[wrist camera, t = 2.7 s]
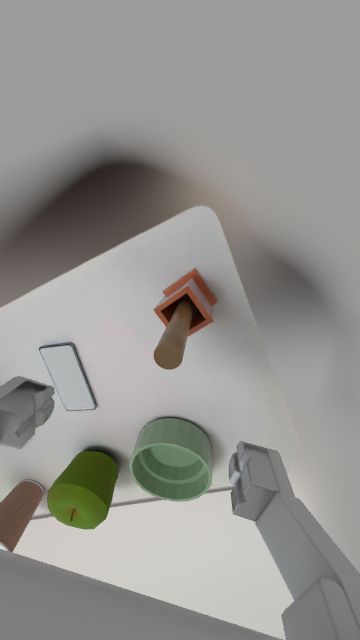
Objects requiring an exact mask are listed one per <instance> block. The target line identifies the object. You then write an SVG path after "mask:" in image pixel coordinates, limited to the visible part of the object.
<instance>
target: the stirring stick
mask: <svg viewBox="0 0 360 640" xmlns="http://www.w3.org/2000/svg"><path fill="white" fill-rule="evenodd" d="M194 306H195V304H194V302H193V301H192V299H191V298H190V297H189V295H188V294H187V293H186V294H184V295H183V296H182V298H181V300H180V302H179V304H178V306H177V308H176V310H175V312H174V314H173V316H172V318H171V320H170V322H169V324H168V326H167V328H166V330H165V332H164V333H163V335H162V337H161V339H160V341H159V343H158V345H157V347H156V349H155V351H154V359H155V362H156V363H157V364H158V365H159V366H160V367H162V368H164V369H175V368H177V367H178V366H179V365H180V364H181V362H182V359H183V354H184V350H185V346H186V341H187V337H188V332H189V328H190V323H191V319H192V315H193V310H194Z"/></svg>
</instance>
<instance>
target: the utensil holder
mask: <svg viewBox="0 0 360 640" xmlns="http://www.w3.org/2000/svg"><path fill="white" fill-rule="evenodd" d="M163 293H164V294H165V297H164V298H163V299H162V300H161V301H160V303H159V304H158V305H157V306H156V307H155V308H154V309H153V310H154V311H155V313H156V314H157V315H158V317H159V318H160V319H161V321H162V322H163V323H164V324H165V326H166V327H167V326H168V324H169V322H170V320H171V318H172V316H173V314H174V312H175V310H176V308H177V306H178V304H179V302H180V300H181V298H182V296H183V295H184V294H186V293H187V294H188V295H189V297H190V298H191V299H192V301H193V302H194V304H195V306H194V310H193V315H192V319H191V323H190V328H189V332H188V336H190V335H192V334H193V333H195V332H196V331H198V330H200V329H201V328H203V327H205V326H206V325H208V324H210V323H211V322H213V310H212V305H213V304H215V303H216V302H217V300H216V298H215V297H214V295H213V294H212V292H211V291H210V289H209V288H208V286H207V285H206V284H205V282H204V281H203V279H202V278H201V276H200V275H199V273H198V272H197V270H196V269H195V268H194V269H193V270H192V271H190V272H189V273H187V274H186V275H185V276H183V277H182V278H181V279H179V280H178V281H176V282H175V283H174V284H172V285H171V286H170V287H168V288H167V289H165V290H164V291H163Z"/></svg>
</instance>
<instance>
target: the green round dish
mask: <svg viewBox="0 0 360 640" xmlns="http://www.w3.org/2000/svg"><path fill="white" fill-rule="evenodd" d="M129 469H130V474H131V476H132V478H133V479H134V481H135V482H136V483H137V484H138V485H139V486H140V487H141V488H142V489H143V490H144V491H146V492H148V493H149V494H151V495H153V496H155V497H158V498H161V499H164V500H170V501H189V500H192V499H196V498H198V497H200V496H202V495H203V494H204V493H206V492H207V490H208V489H209V487H210V486H211V483H212V449H211V444H210V442H209V439H208V437H207V436H206V435H205V434H204V433H203V431H202V430H201V429H199V428H198V427H196V426H195V425H193V424H192V423H189V422H186V421H184V420H181V419H174V418H164V419H158V420H155V421H152V422H150V423H148V424H147V425H146V426H145V427H144V428H143V429H142V430H141V432H140V434H139V437H138V440H137V442H136V445H135V448H134V451H133V453H132V456H131V459H130V462H129Z"/></svg>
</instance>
